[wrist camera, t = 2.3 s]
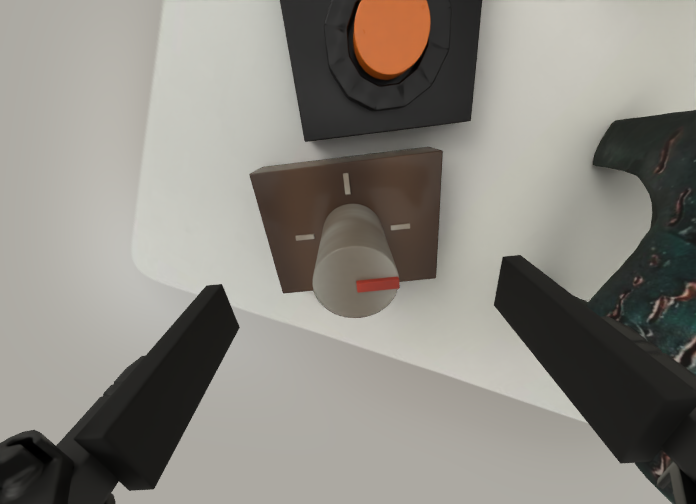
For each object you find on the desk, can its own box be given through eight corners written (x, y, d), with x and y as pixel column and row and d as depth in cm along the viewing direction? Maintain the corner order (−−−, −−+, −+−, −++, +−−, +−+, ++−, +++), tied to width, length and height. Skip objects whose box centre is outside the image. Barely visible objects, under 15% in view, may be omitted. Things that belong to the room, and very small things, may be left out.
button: (356, 83, 14) (357, 79, 13) (349, -1, 13) (350, -18, 11) (420, 75, 14) (429, 69, 13) (421, -12, 13) (432, -31, 11)
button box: (308, 139, 19) (300, 143, 15) (280, -27, 15) (260, -74, 11) (457, 121, 19) (484, 120, 15) (470, -56, 14) (512, -114, 11)
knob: (327, 260, 20) (319, 326, 14) (318, 207, 18) (303, 254, 12) (383, 254, 20) (401, 318, 14) (380, 199, 18) (399, 244, 12)
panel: (289, 275, 24) (282, 295, 22) (261, 167, 20) (248, 174, 17) (425, 260, 24) (436, 279, 21) (429, 146, 19) (443, 150, 16)
